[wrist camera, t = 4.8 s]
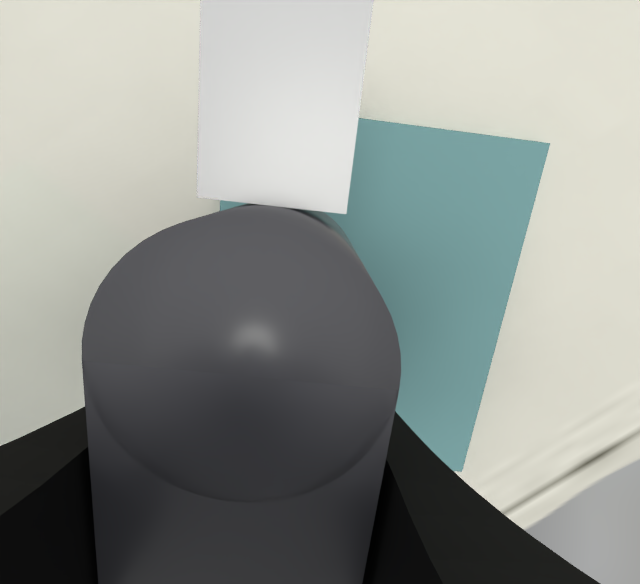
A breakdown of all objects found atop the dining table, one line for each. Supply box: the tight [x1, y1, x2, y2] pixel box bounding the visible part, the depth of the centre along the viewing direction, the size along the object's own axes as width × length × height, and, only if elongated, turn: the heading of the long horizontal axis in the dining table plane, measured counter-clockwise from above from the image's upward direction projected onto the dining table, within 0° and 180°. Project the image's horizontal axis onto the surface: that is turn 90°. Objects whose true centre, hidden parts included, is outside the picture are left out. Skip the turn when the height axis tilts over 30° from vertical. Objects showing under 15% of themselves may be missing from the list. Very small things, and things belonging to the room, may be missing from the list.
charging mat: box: [220, 118, 550, 472], centre depth 17 cm, size 16×13×1 cm
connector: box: [82, 0, 401, 584], centre depth 8 cm, size 13×4×5 cm, turn 174°
